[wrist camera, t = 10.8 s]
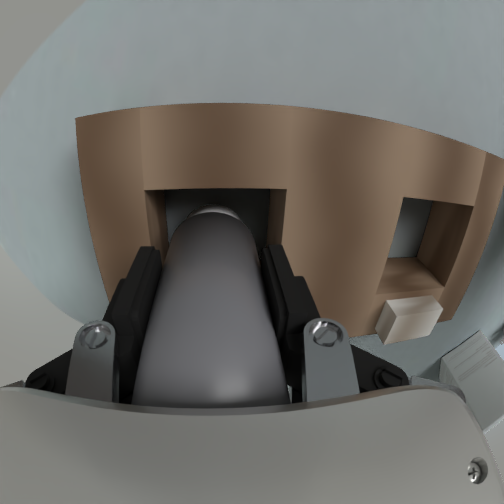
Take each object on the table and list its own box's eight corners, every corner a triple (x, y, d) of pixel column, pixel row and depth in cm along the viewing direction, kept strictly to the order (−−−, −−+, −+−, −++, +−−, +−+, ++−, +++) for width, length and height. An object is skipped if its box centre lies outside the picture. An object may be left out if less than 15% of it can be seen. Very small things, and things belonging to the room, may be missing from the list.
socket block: (470, 145, 15) (524, 169, 10) (428, 290, 21) (460, 331, 17) (109, 111, 12) (57, 122, 8) (136, 302, 19) (118, 362, 14)
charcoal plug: (253, 196, 14) (327, 448, 4) (250, 264, 16) (290, 490, 6) (173, 197, 14) (91, 447, 3) (179, 265, 16) (149, 492, 5)
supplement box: (437, 379, 32) (470, 444, 21) (440, 356, 28) (482, 432, 17) (474, 354, 31) (511, 413, 20) (481, 327, 27) (527, 394, 16)
